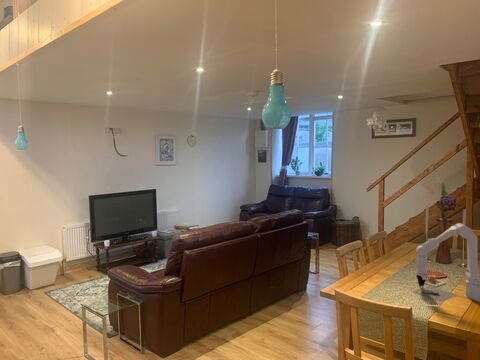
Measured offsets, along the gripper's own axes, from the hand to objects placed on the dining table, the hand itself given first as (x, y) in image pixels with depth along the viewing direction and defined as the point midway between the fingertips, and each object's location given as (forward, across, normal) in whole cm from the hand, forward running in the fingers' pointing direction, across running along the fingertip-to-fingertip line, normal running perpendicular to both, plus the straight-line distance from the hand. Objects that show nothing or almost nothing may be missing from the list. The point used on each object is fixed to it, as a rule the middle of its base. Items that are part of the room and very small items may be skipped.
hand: (421, 287), depth 221 cm
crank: (+2, +2, +4) cm, 5 cm away
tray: (+4, -17, +10) cm, 20 cm away
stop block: (+3, -17, +10) cm, 20 cm away
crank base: (+4, +2, +7) cm, 8 cm away
